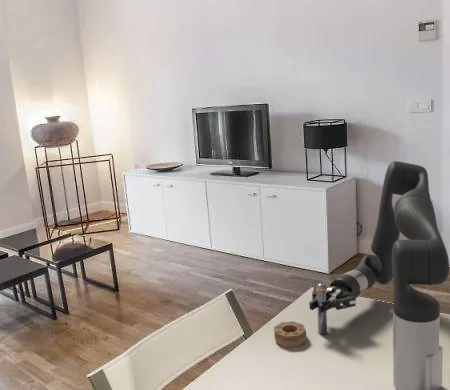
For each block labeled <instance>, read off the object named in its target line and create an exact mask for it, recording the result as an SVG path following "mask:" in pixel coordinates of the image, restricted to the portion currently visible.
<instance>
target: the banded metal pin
mask: <svg viewBox="0 0 450 390" xmlns="http://www.w3.org/2000/svg"><path fill="white" fill-rule="evenodd" d="M326 285H327V284H326V283H324V282H317V283H316V286H317V287H316V290H317V308H316V309H317V311H316V312H317V330H318V331H317V332H318V333H317V334H319V335H321V336H322V335H323V336H325V335H327V334H328V319H327V318H328V315H327V311H328V310H327V311H325V312H323V313H320V312H319V305H320V304H322V303H323V302H325V301H326V287H327V286H326Z"/></svg>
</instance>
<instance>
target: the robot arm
mask: <svg viewBox="0 0 450 390" xmlns="http://www.w3.org/2000/svg"><path fill="white" fill-rule="evenodd" d="M394 195H397V196H400V197H399V198H397V200H396V202H395V203H394V206H393V196H394ZM380 196H381V197H380V202H379V210H378V215H377V216H378V217H377V223H376V228H375V231H374V235H373V238H372V241H371V245H370V251H371V252H372V253H373V254H370V253H369V254H366V255H364V256H363V257H362V259H361V260H360V262H359V264H358V265H357V266H356V267H355V268H354V269H351V270H349V271H346V272H345V273H343V274H342V275H340V276H338V277H337V278H334V279H333V280H332V281H331V283H330V284H329V286H326V301H325V302H323V303H322V304H320V305H319V312H320V313H323V312H325V311H329V310H333V309H334V308H335V309H336V310H337V311H340V310H344V309H348V308H353V307H356V305H357V304H356V303H357V299H358V297H361V296H362V295H363V294H364V293H365V292H366V291H367V290H369V289H370V288H372V287H373V286H374V285H375V283H378V285H383V286H384V285H388V284H389V283H391V281H392V283H393V284H392V286H393V302H392V303H393V305H392V306H393V307H392V311H393V312H392V318H393V319H392V320H393V321H392V323H393V324H392V325H393V326H392V327H393V328H392V331H393V332H392V336H393V338H392V340H393V342H392V343H393V344H392V346H393V347H392V348H393V350H392V351H393V352H392V355H393V356H392V357H393V358H392V359H393V361H392V362H393V363H392V364H393V371H392V374H393V375H392V376H393V379H392V380H393V382H392V383H393V386H394V387H395V389H397V390H440V389H441V388H442V387H443V356H444V355H443V351H444V350H443V349H444V348H443V346H442V345H440V320H441V319H440V318H441V317H440V314H441V313H440V311H441V306H440V303H439V301H438V300H437V298H435V297H433V296H432V295H430V294H428V293H425V292H424V291H423V292H422V291H421V290H418V289H416V288H414V287H413V286H411V285H420V286H421V285H422V286H423V285H425V286H427V285H428V286H436V285H442V284H443V283H445V282H446V280H448V277H449V275H450V258H449V255H448V251H447V248H446V246H445V242H444V241H443V239H442V235H441V234H440V231H439V227H438V224H437V217H436V212H435V209H434V205H433V203H432V199H431V195H430V186H429V175H428V172H427V168H425V167H424V166H422V165H419V164H416V163H415V164H413V163H407V162H403V161H397V160H393V161H391V162H389V164H388V167H387V169H386V171H385V175H384V180H383V184H382V190H381V195H380ZM400 233H401V235H402V236H404V237H405V238H406V239H400ZM316 287H317V285H315V286H314V287H313V289H312V290H313V291H312V293H311V300H310V301H309V304H308V305H309V309H310V311H314V310H316V309H317V290H316Z"/></svg>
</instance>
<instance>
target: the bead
mask: <svg viewBox="0 0 450 390" xmlns="http://www.w3.org/2000/svg"><path fill="white" fill-rule="evenodd" d="M273 333H274V334H273V335H274V340H275V344H276V345H280V346H282V347H285V348H293V347H300V346H301V345H303V344H304V343H306V342H307V330H306V327H305V325H304V324H302V323H300V322H296V321H293V320H292V321H281V322H279V323H278V324H277V325H275V326H273Z"/></svg>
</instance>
